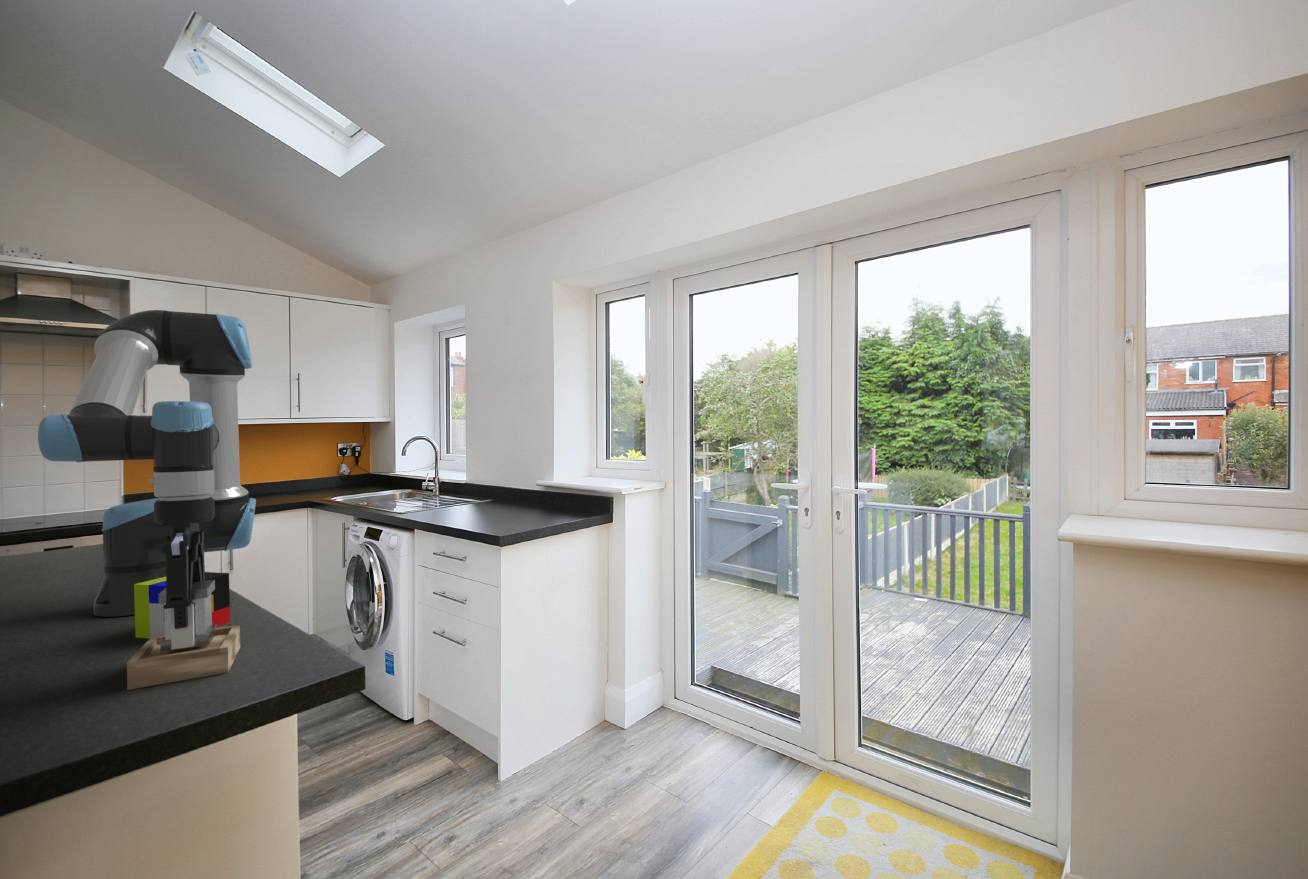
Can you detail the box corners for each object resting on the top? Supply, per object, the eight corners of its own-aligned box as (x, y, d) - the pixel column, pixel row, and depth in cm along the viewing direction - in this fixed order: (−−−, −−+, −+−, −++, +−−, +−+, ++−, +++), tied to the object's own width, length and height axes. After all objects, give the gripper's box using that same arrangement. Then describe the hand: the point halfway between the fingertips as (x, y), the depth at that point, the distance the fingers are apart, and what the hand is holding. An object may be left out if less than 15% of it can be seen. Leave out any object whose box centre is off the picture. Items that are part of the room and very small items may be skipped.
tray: (151, 661, 94) (151, 637, 94) (240, 647, 100) (239, 624, 100) (127, 689, 84) (126, 662, 84) (228, 672, 90) (227, 647, 89)
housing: (216, 632, 96) (214, 576, 96) (209, 644, 91) (207, 584, 91) (170, 639, 93) (168, 581, 93) (160, 652, 88) (158, 590, 88)
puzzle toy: (179, 641, 104) (177, 586, 104) (135, 637, 106) (134, 584, 106) (230, 622, 114) (229, 573, 113) (189, 620, 116) (188, 571, 115)
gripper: (170, 493, 98) (173, 626, 98) (135, 505, 81) (139, 666, 82) (224, 490, 102) (227, 619, 102) (201, 502, 85) (204, 655, 85)
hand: (188, 640), depth 92 cm, fingers closed on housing, 6 cm apart
